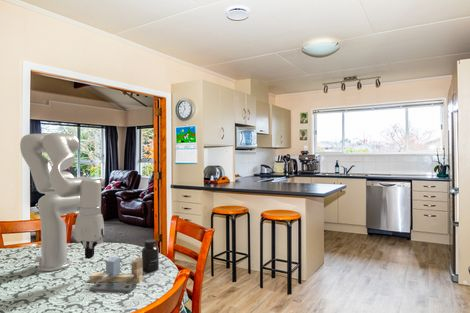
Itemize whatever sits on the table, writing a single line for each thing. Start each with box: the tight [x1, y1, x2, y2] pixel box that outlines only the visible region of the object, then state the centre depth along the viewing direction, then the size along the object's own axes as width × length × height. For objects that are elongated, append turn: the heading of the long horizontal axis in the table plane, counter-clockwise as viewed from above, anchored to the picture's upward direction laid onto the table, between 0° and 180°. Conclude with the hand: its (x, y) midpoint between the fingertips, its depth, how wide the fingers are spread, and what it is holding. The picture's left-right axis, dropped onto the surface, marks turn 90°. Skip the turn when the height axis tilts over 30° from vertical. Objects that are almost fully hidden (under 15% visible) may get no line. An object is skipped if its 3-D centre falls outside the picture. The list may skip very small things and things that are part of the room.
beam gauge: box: [88, 257, 144, 284], centre depth 118 cm, size 20×10×8 cm, turn 82°
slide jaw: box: [101, 256, 121, 280], centre depth 118 cm, size 3×10×6 cm, turn 172°
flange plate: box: [89, 282, 137, 294], centre depth 112 cm, size 15×5×1 cm, turn 82°
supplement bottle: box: [141, 239, 160, 273], centre depth 131 cm, size 7×7×12 cm
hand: (89, 257), depth 123 cm, fingers closed
